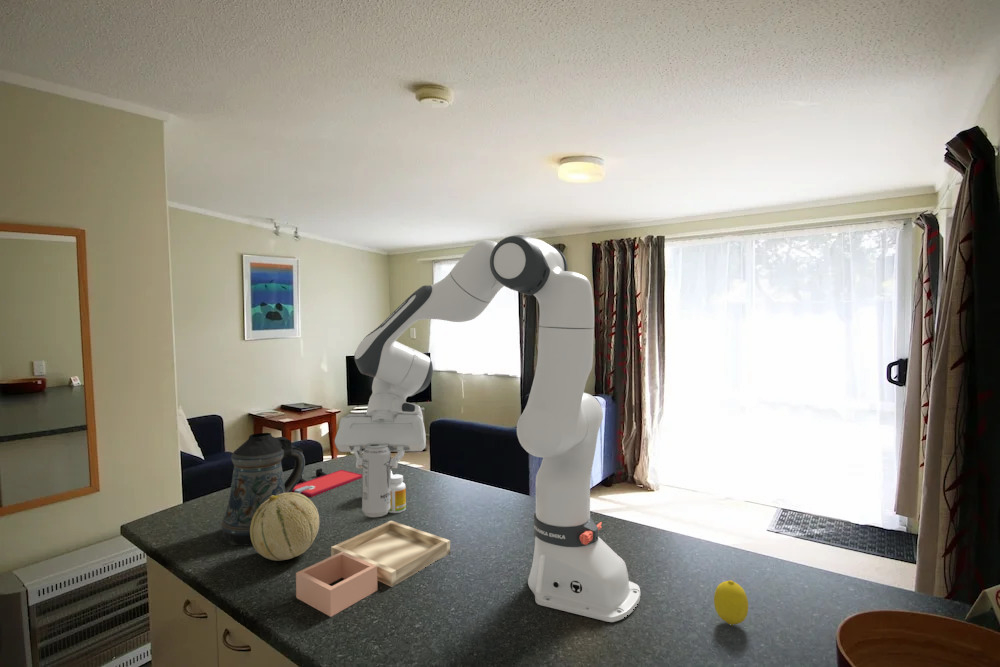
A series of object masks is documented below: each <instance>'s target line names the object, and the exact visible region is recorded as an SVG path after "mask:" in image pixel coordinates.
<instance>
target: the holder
mask: <svg viewBox="0 0 1000 667" xmlns="http://www.w3.org/2000/svg"><path fill="white" fill-rule="evenodd" d="M340 579H343V580H341V581H339V580H340ZM336 581H339V582H337V583H335V582H336ZM333 583H335V584H333ZM330 584H333V585H330ZM377 591H378V581H377V566H376V565H374V564H371V563H369V562H367V561H364V560H362V559H359V558H357V557H355V556H352V555H350V554H348V553H345V552H343V551H342V552H340V553H338V554H336V555H334V556H329V557H327V558H325V559H323V560H320V561H318V562H316V563H314V564H312V565H310V566H307V567H305V568H303V569H301V570H299V571H297V572H295V595H296V597H295V598H296V599H298V600H299V601H301V602H303V603H305V604H306V605H309V606H310V607H312V608H314V609H316V610H317V611H319V612H321V613H322V614H325V615H327V616H328V617H330V618H332V617H333V616H335V615H337V614H339V613H340V612H342V611H345V609H347V608H350V607H351V606H353V605H354V604H356V603H358V602H359V601H361V600H363V599H365V598H367V597H369V596H370V595H372V594H374V593H375V592H377Z"/></svg>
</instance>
